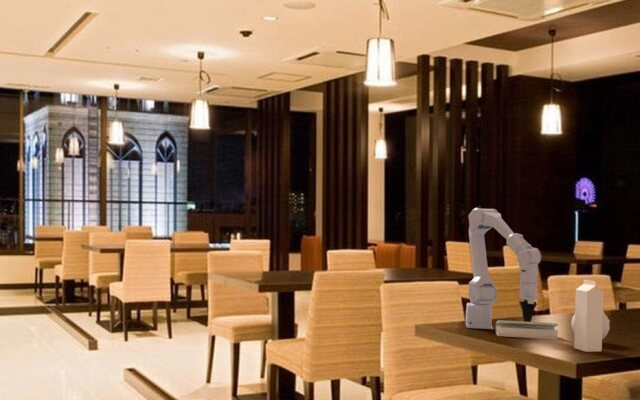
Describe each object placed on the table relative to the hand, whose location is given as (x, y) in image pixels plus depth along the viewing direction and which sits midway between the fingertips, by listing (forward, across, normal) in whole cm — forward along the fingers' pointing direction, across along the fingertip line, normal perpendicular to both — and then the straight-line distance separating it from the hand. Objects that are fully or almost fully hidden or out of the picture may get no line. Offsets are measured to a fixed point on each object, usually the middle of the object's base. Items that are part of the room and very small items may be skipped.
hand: (527, 322), depth 251 cm
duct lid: (+1, +2, 0) cm, 2 cm away
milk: (+5, -19, -16) cm, 26 cm away
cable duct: (+5, +2, 0) cm, 5 cm away
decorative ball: (+5, -4, -20) cm, 21 cm away
